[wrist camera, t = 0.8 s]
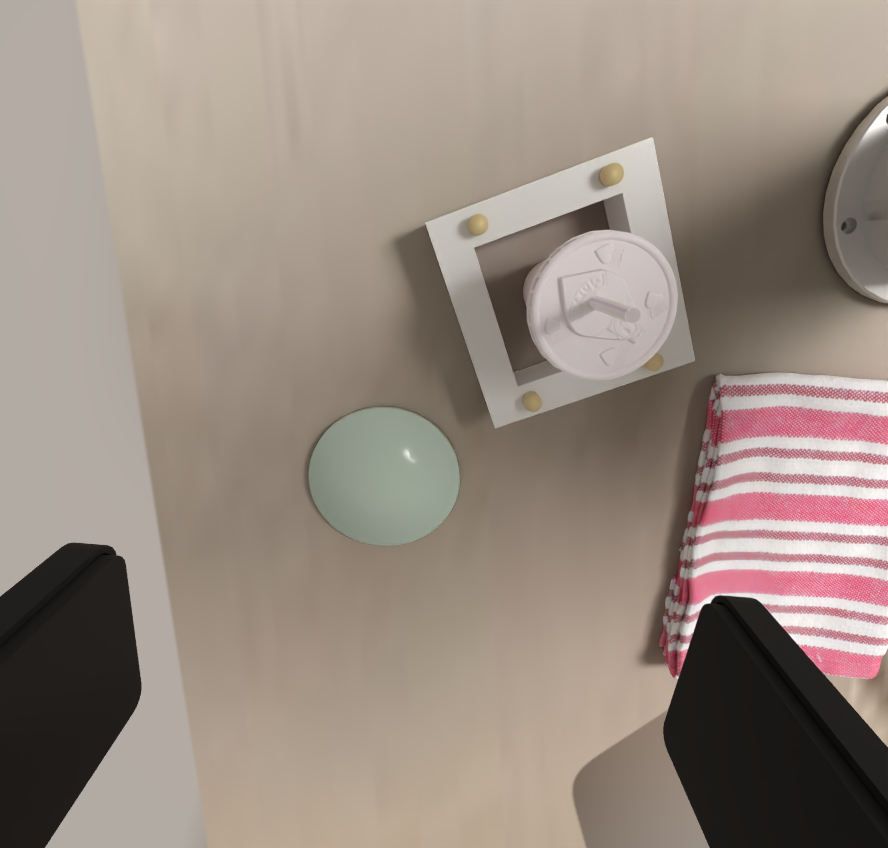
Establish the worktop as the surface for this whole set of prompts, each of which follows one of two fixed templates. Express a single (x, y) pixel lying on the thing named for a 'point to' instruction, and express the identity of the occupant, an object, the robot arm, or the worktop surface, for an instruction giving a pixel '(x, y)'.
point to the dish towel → (791, 516)
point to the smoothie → (601, 304)
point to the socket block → (457, 234)
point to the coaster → (384, 476)
